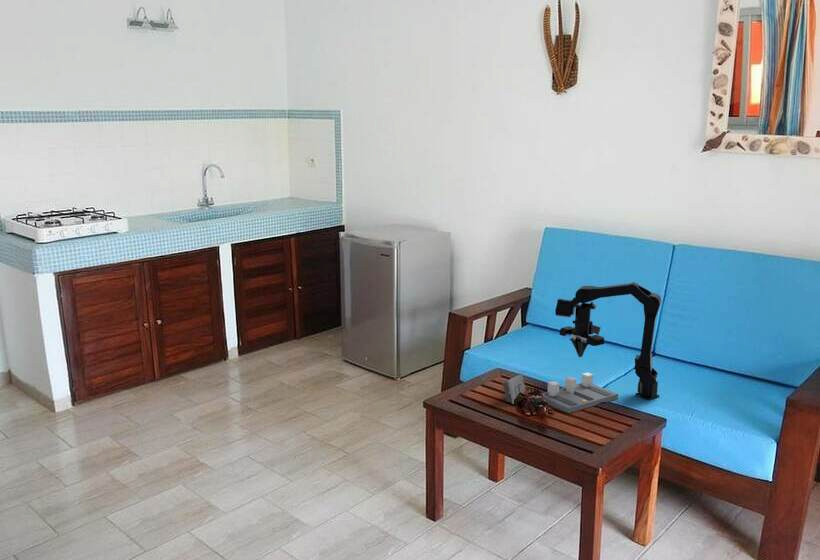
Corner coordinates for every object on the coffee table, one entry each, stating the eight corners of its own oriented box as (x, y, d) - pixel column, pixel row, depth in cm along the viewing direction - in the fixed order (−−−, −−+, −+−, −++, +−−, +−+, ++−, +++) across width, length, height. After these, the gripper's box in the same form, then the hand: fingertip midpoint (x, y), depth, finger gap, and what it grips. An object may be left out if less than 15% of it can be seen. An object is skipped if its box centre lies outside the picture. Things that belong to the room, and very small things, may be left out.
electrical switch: (514, 406, 263) (513, 381, 261) (502, 403, 266) (501, 379, 265) (527, 398, 270) (526, 374, 268) (515, 396, 273) (514, 373, 272)
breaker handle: (575, 395, 272) (576, 378, 271) (569, 396, 271) (570, 380, 269) (569, 392, 275) (570, 376, 273) (564, 394, 273) (565, 378, 272)
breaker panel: (617, 398, 270) (619, 381, 268) (568, 413, 256) (569, 395, 254) (586, 386, 283) (587, 369, 281) (537, 399, 269) (538, 381, 267)
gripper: (615, 321, 274) (612, 359, 278) (579, 310, 289) (577, 347, 293) (595, 325, 268) (592, 364, 272) (559, 314, 283) (557, 351, 287)
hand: (580, 356), depth 281 cm, fingers closed
